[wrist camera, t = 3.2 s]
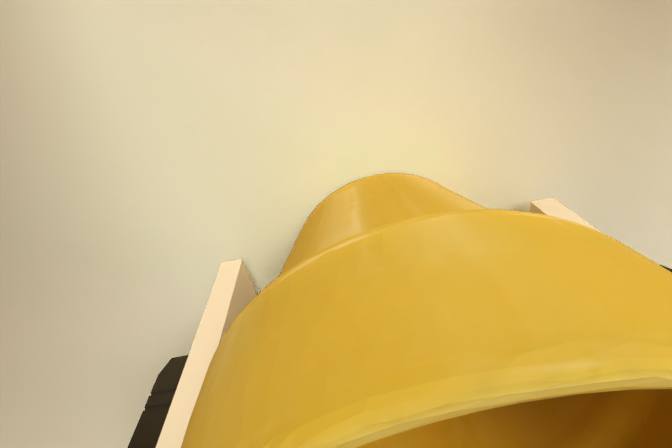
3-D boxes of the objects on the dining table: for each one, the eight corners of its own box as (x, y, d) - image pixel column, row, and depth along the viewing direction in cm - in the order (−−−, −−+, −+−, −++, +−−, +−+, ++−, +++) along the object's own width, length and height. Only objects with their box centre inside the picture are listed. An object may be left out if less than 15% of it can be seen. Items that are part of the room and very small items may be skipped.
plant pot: (444, 39, 10) (1056, 114, 2) (553, 268, 15) (878, 594, 6) (186, 226, 13) (-53, 629, 4) (347, 375, 17) (386, 715, 9)
